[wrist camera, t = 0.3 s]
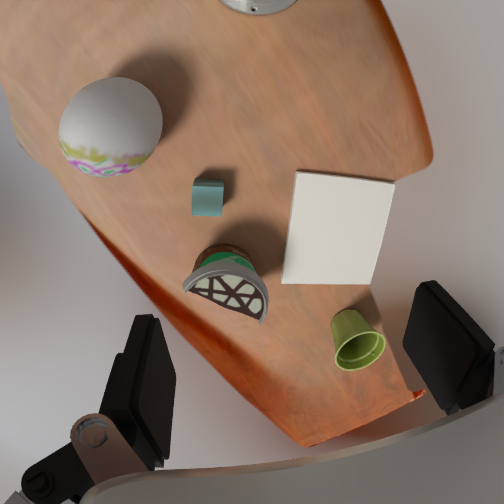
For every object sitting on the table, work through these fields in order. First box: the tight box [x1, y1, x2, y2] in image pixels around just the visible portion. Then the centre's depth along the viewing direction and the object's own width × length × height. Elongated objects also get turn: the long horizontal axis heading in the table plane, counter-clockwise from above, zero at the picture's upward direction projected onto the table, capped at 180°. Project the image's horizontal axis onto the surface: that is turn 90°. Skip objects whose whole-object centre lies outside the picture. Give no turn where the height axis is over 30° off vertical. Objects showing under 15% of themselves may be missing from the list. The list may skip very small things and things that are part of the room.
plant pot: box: [331, 309, 386, 371], centre depth 54 cm, size 9×9×9 cm
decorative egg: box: [59, 77, 163, 178], centre depth 32 cm, size 12×12×15 cm
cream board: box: [280, 171, 395, 284], centre depth 48 cm, size 18×16×1 cm
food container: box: [183, 244, 268, 325], centre depth 45 cm, size 12×6×10 cm, turn 59°
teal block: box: [192, 179, 224, 216], centre depth 43 cm, size 4×4×4 cm
